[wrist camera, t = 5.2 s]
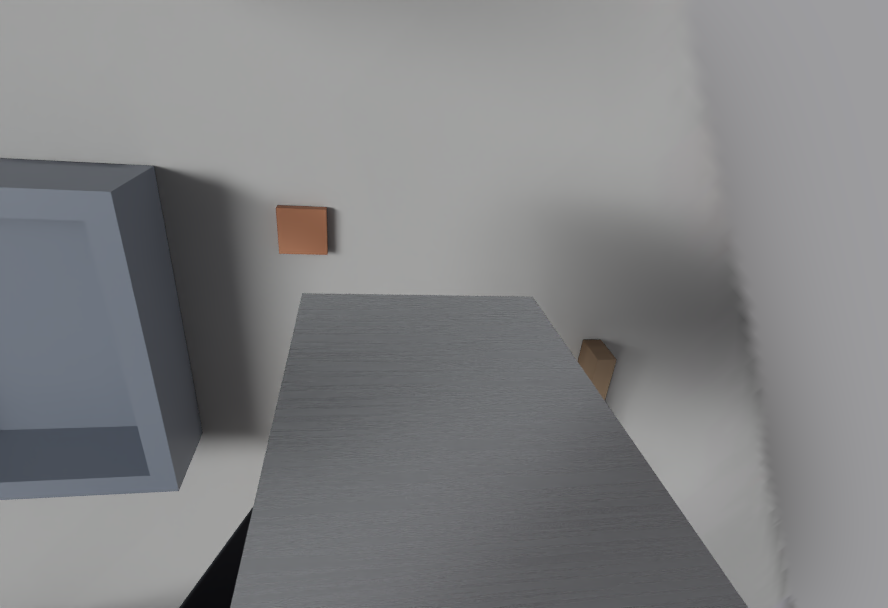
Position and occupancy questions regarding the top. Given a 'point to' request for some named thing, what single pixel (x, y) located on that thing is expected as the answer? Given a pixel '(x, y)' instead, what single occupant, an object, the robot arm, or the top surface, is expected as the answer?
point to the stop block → (457, 471)
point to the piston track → (309, 236)
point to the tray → (89, 335)
